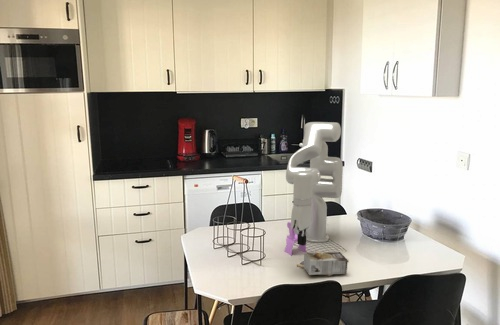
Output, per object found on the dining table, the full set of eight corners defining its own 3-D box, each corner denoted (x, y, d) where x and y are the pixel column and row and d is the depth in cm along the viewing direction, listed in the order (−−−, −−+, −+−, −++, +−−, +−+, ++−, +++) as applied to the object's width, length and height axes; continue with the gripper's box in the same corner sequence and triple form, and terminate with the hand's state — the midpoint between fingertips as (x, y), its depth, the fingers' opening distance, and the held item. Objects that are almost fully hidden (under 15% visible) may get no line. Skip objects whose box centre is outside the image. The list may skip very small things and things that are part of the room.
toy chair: (308, 252, 201) (308, 222, 198) (292, 256, 196) (293, 225, 194) (297, 247, 208) (298, 217, 205) (282, 250, 204) (283, 220, 201)
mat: (296, 266, 186) (296, 264, 186) (316, 253, 200) (316, 251, 200) (330, 276, 176) (330, 274, 176) (348, 261, 190) (348, 259, 190)
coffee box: (303, 252, 182) (339, 251, 184) (303, 267, 183) (339, 265, 185) (310, 260, 173) (348, 259, 176) (309, 275, 174) (347, 274, 176)
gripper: (303, 196, 181) (302, 237, 184) (284, 204, 169) (284, 247, 173) (319, 198, 177) (318, 241, 180) (301, 207, 165) (300, 252, 168)
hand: (301, 244), depth 176 cm, fingers closed
